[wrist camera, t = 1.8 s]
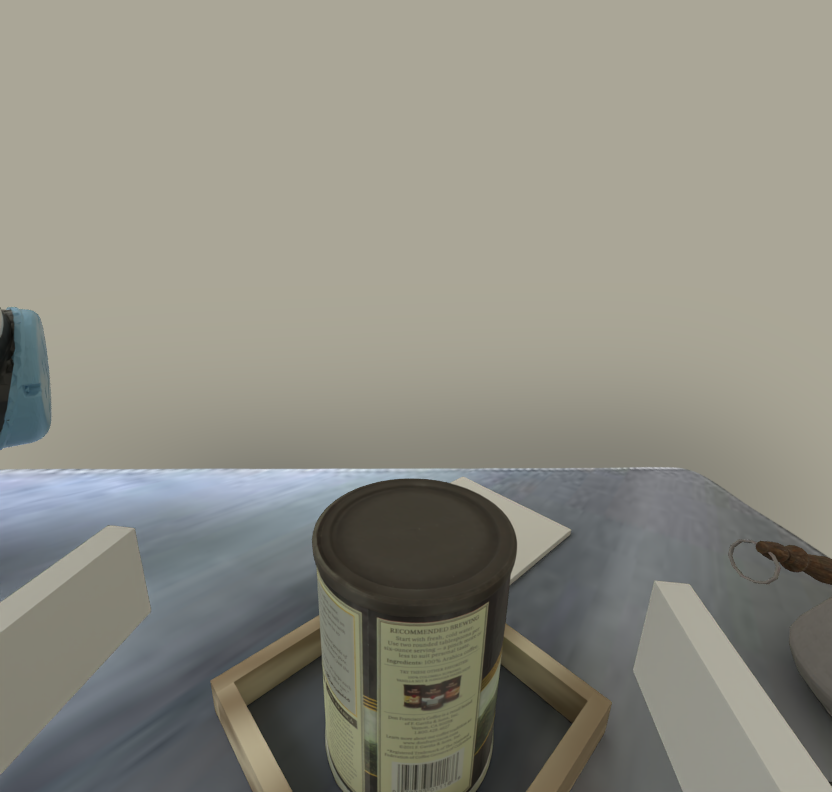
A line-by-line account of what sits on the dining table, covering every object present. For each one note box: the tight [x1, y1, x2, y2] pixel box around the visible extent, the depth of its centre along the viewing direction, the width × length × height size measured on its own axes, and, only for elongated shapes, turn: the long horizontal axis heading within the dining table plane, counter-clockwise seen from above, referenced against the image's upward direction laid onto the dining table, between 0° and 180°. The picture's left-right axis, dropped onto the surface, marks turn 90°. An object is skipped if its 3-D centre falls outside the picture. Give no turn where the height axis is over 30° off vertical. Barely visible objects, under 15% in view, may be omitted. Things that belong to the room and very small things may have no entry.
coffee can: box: [312, 479, 517, 792], centre depth 24 cm, size 10×10×14 cm
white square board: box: [451, 477, 571, 585], centre depth 44 cm, size 15×15×1 cm
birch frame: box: [211, 615, 612, 792], centre depth 25 cm, size 17×17×2 cm
